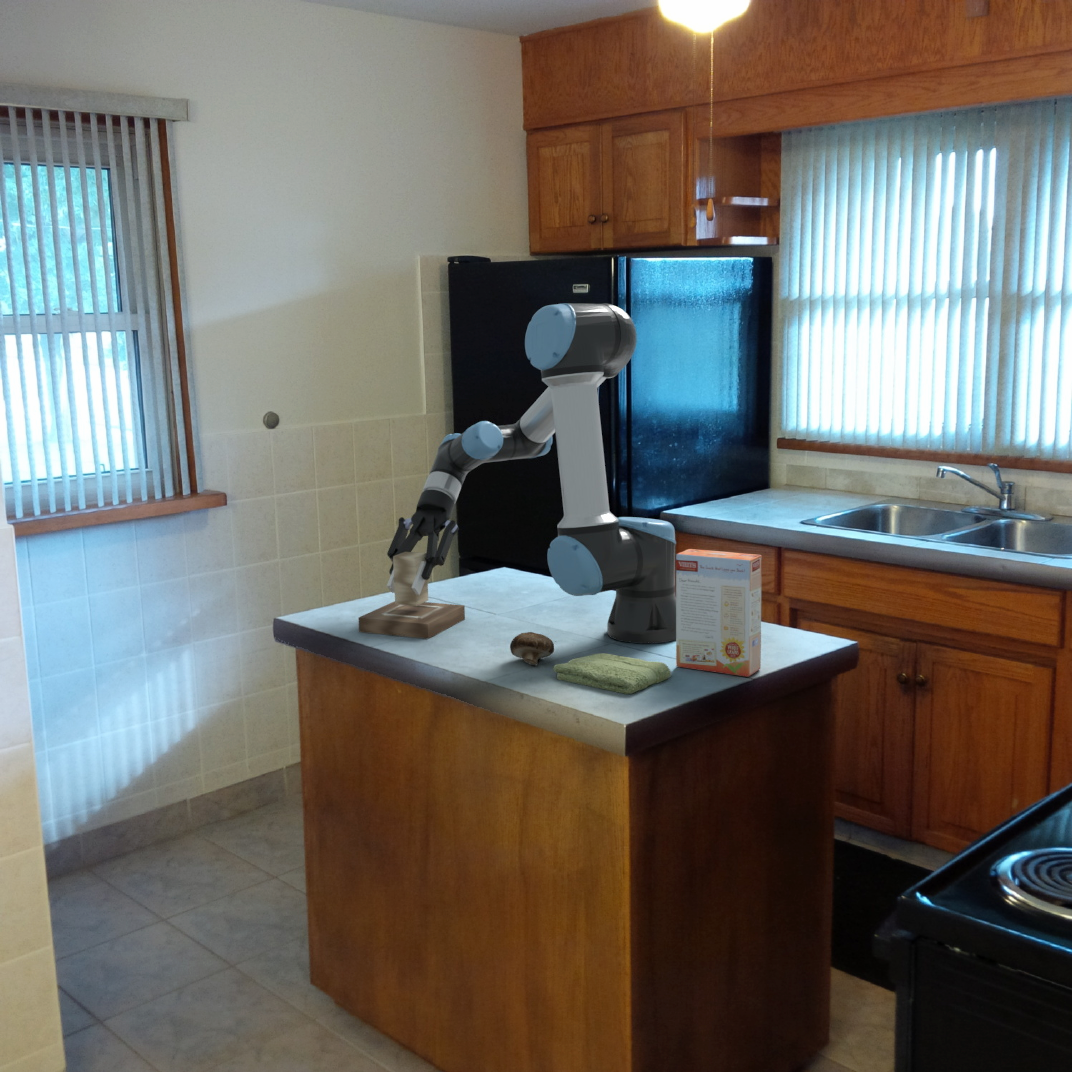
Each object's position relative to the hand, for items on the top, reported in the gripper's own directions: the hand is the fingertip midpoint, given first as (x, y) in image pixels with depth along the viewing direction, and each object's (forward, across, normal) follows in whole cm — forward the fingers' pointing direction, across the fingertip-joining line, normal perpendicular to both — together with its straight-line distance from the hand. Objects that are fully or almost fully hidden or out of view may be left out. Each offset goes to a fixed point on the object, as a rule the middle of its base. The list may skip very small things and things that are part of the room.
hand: (403, 590), depth 234 cm
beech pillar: (0, 0, -5) cm, 5 cm away
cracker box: (+9, -67, -2) cm, 67 cm away
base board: (+4, 0, -8) cm, 9 cm away
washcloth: (+18, -51, +6) cm, 54 cm away
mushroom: (+15, -34, +3) cm, 37 cm away
